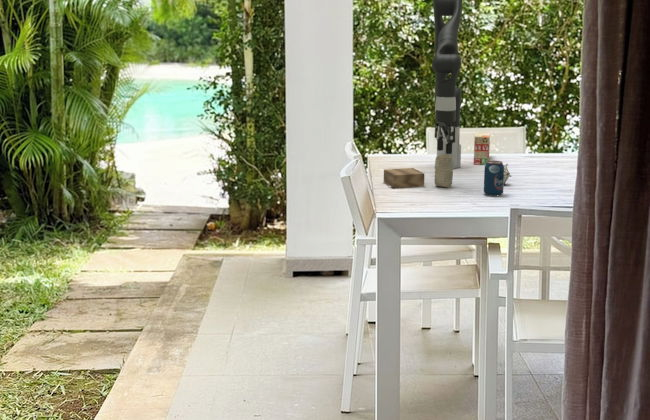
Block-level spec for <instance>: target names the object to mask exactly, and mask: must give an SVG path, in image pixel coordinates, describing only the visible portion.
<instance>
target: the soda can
mask: <svg viewBox="0 0 650 420" xmlns="http://www.w3.org/2000/svg"><path fill="white" fill-rule="evenodd" d="M503 165H504V164H503V161H500V160H489V161H487V162H486V165H484V170H483V171H484V173H483V174H484V175H483V179H484V181H483V192H484V194H485V195H486V196H487V195H491V196H490V197H498V196H497V195H500V196H502V194H503V193H504V184H503V181H504V166H503Z"/></svg>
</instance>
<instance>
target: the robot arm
mask: <svg viewBox="0 0 650 420" xmlns="http://www.w3.org/2000/svg"><path fill="white" fill-rule="evenodd" d="M432 5H433V6H432V7H433V21H434V22H433V23H434V57H433V59H432V61H431V62H432V63H431V67H432V70H433V72H435V79H434V80H435V81H434V82H435V84H434V105H435V107H434V109H435V113H434V114H435V115H434V117H435V118H434V121H435V123H434V139H435V140H436V156H437V155H441V154H442V155H445V154H446V155H451V156H452V157H453V169H458V168H461V164H462V163H461V161H462V160H461V159H462V144H460V137H461V136H460V133H461V132H460V129H461V108H462V107H461V106H462V90H461V88H460V87H457V80H458V78H459V77H458V76H459V73H460V70H461V68H462V58H461V57H460V55H459V45H458V33H459V29H460V28H459V27H460V23H461V19H462V12H463V0H432ZM444 17H451V18H450V19H449V20H448V22H446V23H445V20H444ZM449 74H450V76H449ZM448 76H449V78H447V77H448Z"/></svg>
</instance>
